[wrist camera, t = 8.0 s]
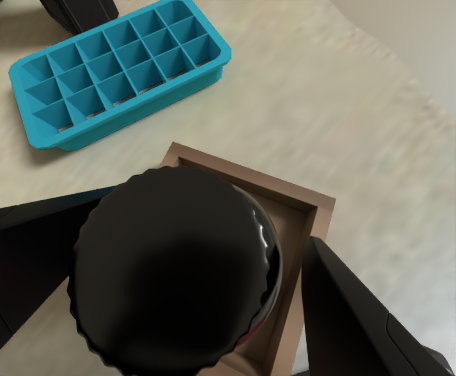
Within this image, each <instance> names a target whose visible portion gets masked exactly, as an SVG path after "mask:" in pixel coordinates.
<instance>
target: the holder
mask: <svg viewBox="0 0 456 376" xmlns="http://www.w3.org/2000/svg"><path fill="white" fill-rule="evenodd" d="M166 165H167V166H171V167H177V166H181V165H184V166H187V167H188V168H201V169H203V170H204V171H205V172H207V173H216V174H217V175H218V176H219V177H220V178H221V179H222V180H225V181H228V182H231V183H232V184H233V185H235V186H237V187H239V188H241V189H242V190H244V191H245V192H247V193H248V194H249V195H251V196H252V197H253V198H254V199H255V200H256V201H257V202H258V203H259V204H260V205H261V206H262V207H263V208H264V210H265V211H266V212H267V214H268V215H269V217H270V219H271V221H272V222H273V224H274V226H275V229H276V231H277V234H278V237H279V240H280V245H281V250H282V259H283V271H282V280H281V286H280V290H279V294H278V296H277V299H276V302H275V304H274V306H273V309H272V311H271V312H270V314H269V316H268V317H267V319H266V321H265V322H264V323H263V325H262V326H261V327H260V328H259V330H258V331H257V332H256V333H255V334H254V335H253V336H252V337H251V338H250V339H248V340H247V341H246V342H245V343H243V344H242V345H241V346H239V347H238V348H236V349H235V350H234V352H232V353H230V354H227V355H224V356H222V357H221V359H220V360H219V362H218V363H217V364H216V366H215V367H213V368H209V369H206V368H205V369H202V370H201V371H200V372H199V373H198V374H200V375H201V376H290V374H291V370H292V366H293V363H294V359H295V355H296V351H297V347H298V343H299V340H300V336H301V332H302V328H303V324H304V314H303V304H302V294H301V264H302V251H303V248H304V246H305V244H306V241H307V239H308V237H309V236H315V237H319V238H321V239H322V240H323V241H324V242H325V239H326V236H327V232H328V228H329V224H330V220H331V216H332V212H333V209H334V205H335V201H336V199H335V198H332V197H329V196H327V195H324V194H321V193H318V192H315V191H312V190H309V189H307V188H304V187H301V186H298V185H295V184H292V183H289V182H287V181H284V180H281V179H278V178H275V177H272V176H269V175H267V174H264V173H261V172H258V171H255V170H252V169H250V168H247V167H244V166H241V165H238V164H235V163H232V162H230V161H227V160H224V159H221V158H218V157H215V156H212V155H210V154H207V153H204V152H201V151H198V150H195V149H192V148H190V147H187V146H184V145H181V144H178V143H175V142H172V144H171V146H170V148H169V150H168V151H167V153H166V155H165V157H164V159H163V161H162V163H161V164H160V166H159V168H161V167H163V166H166ZM159 168H158V169H159Z"/></svg>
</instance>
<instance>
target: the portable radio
mask: <svg viewBox="0 0 456 376" xmlns="http://www.w3.org/2000/svg"><path fill="white" fill-rule="evenodd" d="M40 2H41V3H42V5H43V6H44V8H45V9H46V10H47V12H48V13H49V15H50V16H51V17H52V18H53V19H55V20H56V21H57V22H58V23H60V24H61V25H62V26H63V27H65V28H66V29H67V30H69V31H70V32H71V33H73V34H74V35H75V36H77V35H79V34H81V33H84V32H86V31H88V30H91V29H93V28H96V27H98V26H100V25H103V24H105V23H108V22H110V21H112V20H115V19H116V18H117V16H118V15H119V12H118V10H117V8H116V6H115V4H114V2H113V0H40Z"/></svg>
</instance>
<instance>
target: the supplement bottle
mask: <svg viewBox="0 0 456 376" xmlns="http://www.w3.org/2000/svg"><path fill="white" fill-rule="evenodd" d="M282 271H283V259H282V250H281V245H280V240H279V237H278V234H277V231H276V229H275V226H274V224H273V222H272V221H271V219H270V217H269V215H268V214H267V212H266V211H265V210H264V208H263V207H262V206H261V205H260V204H259V203H258V202H257V201H256V200H255V199H254V198H253V197H252V196H251V195H249V194H248V193H247V192H245V191H244V190H242V189H241V188H239V187H237V186H235V185H233V184H232V183H231V182H228V181H225V180H222V179H221V178H220V177H219V176H218V175H217V174H216V173H207V172H205V171H204V170H203V169H201V168H188V167H187V166H184V165H181V166H177V167H171V166H167V165H166V166H163V167H161V168H159V169H148V170H147V171H145V172H144V173H143V174H139V175H134V176H132V177H131V178H129V180H128V181H127V182H125V183H122V184H119V185H117V186H116V187H115V188H114V190H113V191H112V192H111V193H110V194H108V195H106V196H104V197H103V198H102V199H101V201H100V203H99V205H98V206H97V207H96V208H95V209H93V210H92V211H91V212H90V214H89V216H88V220H87V222H86V223H85V224H84V225H83V226H82V227H81V228H80V230H79V235H78V240H77V241H76V243H75V244H74V246H73V248H72V260H71V262H70V264H69V267H68V275H69V283H68V287H67V293H68V295H69V297H70V299H71V302H70V313H71V314H72V316H73V317H74V319H75V320H76V326H77V333H78V334H80V335H81V336H82V337H84V338H85V339H86V343H87V346H88V349H89V351H90V352H92V353H94V354H97V355H99V356H100V358H101V360H102V362H103V363H104V365H105V366H107V367H114V368H117V370H118V371H119V372H120V373H121V374H122V375H123V376H196V375H197V374H198V373H199V372H200V371H201V370H202V369H205V368H206V369H209V368H213V367H215V366H216V364H217V363H218V362H219V360H220V359H221V357H222V356H224V355H227V354H230V353H232V352H234V350H235V349H236V348H238V347H239V346H241V345H242V344H243V343H245V342H246V341H247V340H248V339H250V338H251V337H252V336H253V335H254V334H255V333H256V332H257V331H258V330H259V328H260V327H261V326H262V325H263V323H264V322H265V321H266V319H267V317H268V316H269V314H270V312H271V311H272V309H273V306H274V304H275V302H276V299H277V296H278V294H279V290H280V286H281V280H282Z"/></svg>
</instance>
